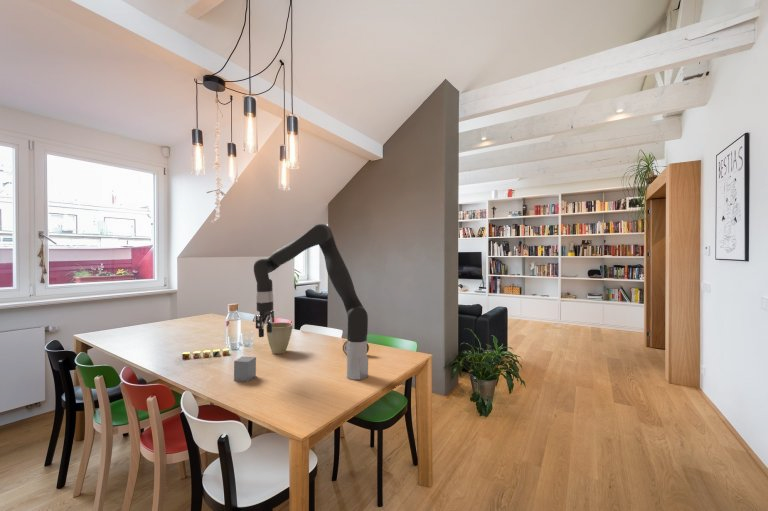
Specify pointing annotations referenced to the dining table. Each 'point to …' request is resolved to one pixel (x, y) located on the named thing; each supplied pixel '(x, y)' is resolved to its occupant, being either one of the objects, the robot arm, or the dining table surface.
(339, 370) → the dining table surface
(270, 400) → the dining table surface
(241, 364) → the matte grey cube
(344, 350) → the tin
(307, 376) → the dining table surface
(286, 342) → the plant pot
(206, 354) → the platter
